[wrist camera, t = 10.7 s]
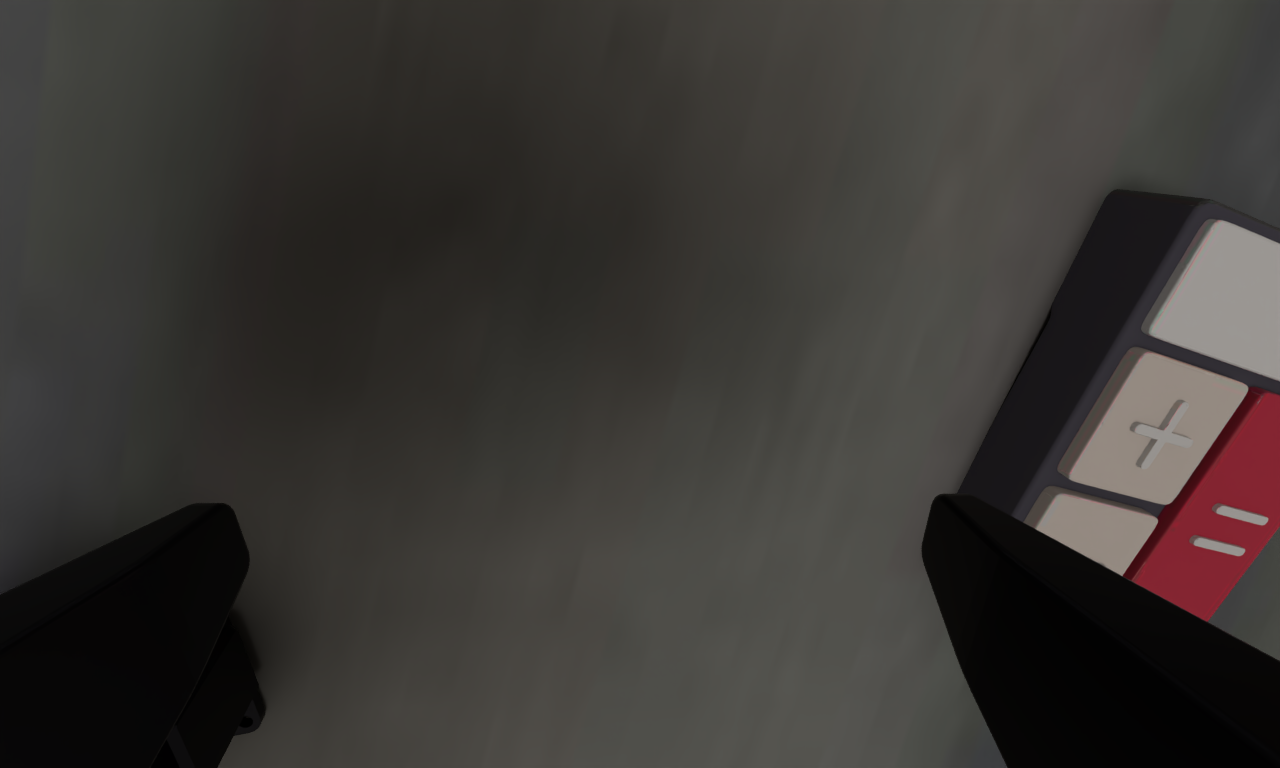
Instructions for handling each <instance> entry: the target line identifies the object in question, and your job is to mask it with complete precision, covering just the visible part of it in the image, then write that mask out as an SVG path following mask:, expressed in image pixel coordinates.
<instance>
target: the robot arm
mask: <svg viewBox="0 0 1280 768" xmlns="http://www.w3.org/2000/svg"><path fill="white" fill-rule="evenodd" d="M922 558H923V563H924V566H925V569H926V572H927V575H928V577H929V580H930V583H931V586H932V589H933V592H934V594H935V597H936V600H937V603H938V606H939V609H940V611H941V614H942V617H943V620H944V623H945V626H946V628H947V631H948V634H949V637H950V640H951V643H952V645H953V648H954V651H955V654H956V656H957V659H958V662H959V664H960V667H961V669H962V672H963V674H964V677H965V679H966V681H967V683H968V685H969V688H970V690H971V692H972V694H973V696H974V698H975V700H976V703H977V705H978V707H979V709H980V711H981V713H982V715H983V717H984V719H985V721H986V724H987V726H988V728H989V730H990V732H991V734H992V736H993V738H994V740H995V742H996V744H997V747H998V749H999V751H1000V753H1001V755H1002V757H1003V759H1004V761H1005V763H1006V765H1007V768H1280V661H1279V660H1277V659H1275V658H1273V657H1272V656H1270V655H1268V654H1266V653H1264V652H1262V651H1260V650H1259V649H1257V648H1255V647H1253V646H1251V645H1249V644H1247V643H1246V642H1244V641H1242V640H1240V639H1238V638H1236V637H1234V636H1233V635H1231V634H1229V633H1227V632H1225V631H1223V630H1222V629H1220V628H1218V627H1216V626H1214V625H1212V624H1210V623H1209V622H1207V621H1205V620H1203V619H1201V618H1199V617H1197V616H1196V615H1194V614H1192V613H1190V612H1188V611H1186V610H1184V609H1183V608H1181V607H1179V606H1177V605H1175V604H1173V603H1172V602H1170V601H1168V600H1166V599H1164V598H1162V597H1160V596H1159V595H1157V594H1155V593H1153V592H1151V591H1149V590H1147V589H1146V588H1144V587H1142V586H1140V585H1138V584H1136V583H1134V582H1133V581H1131V580H1129V579H1127V578H1125V577H1123V576H1122V575H1120V574H1118V573H1116V572H1114V571H1112V570H1110V569H1109V568H1107V567H1105V566H1103V565H1101V564H1099V563H1097V562H1096V561H1094V560H1092V559H1090V558H1088V557H1086V556H1084V555H1083V554H1081V553H1079V552H1077V551H1075V550H1073V549H1072V548H1070V547H1068V546H1066V545H1064V544H1062V543H1060V542H1059V541H1057V540H1055V539H1053V538H1051V537H1049V536H1047V535H1046V534H1044V533H1042V532H1040V531H1038V530H1036V529H1035V528H1033V527H1031V526H1029V525H1027V524H1025V523H1023V522H1022V521H1020V520H1018V519H1016V518H1014V517H1012V516H1011V515H1009V514H1007V513H1005V512H1003V511H1001V510H999V509H998V508H996V507H994V506H992V505H990V504H988V503H986V502H985V501H983V500H981V499H979V498H977V497H975V496H973V495H971V494H940V495H938V496H936V497H935V499H934V500H933V502H932V505H931V509H930V513H929V517H928V521H927V525H926V529H925V533H924V538H923V542H922ZM249 562H250V558H249V551H248V548H247V545H246V543H245V540H244V537H243V534H242V531H241V529H240V526H239V523H238V520H237V517H236V515H235V512H234V510H233V509H232V508H231V507H230V506H229V505H227V504H224V503H196V504H191V505H188V506H186V507H184V508H182V509H180V510H178V511H175V512H173V513H171V514H169V515H167V516H165V517H163V518H161V519H159V520H157V521H154V522H152V523H150V524H148V525H146V526H144V527H142V528H140V529H138V530H135V531H133V532H131V533H129V534H127V535H125V536H123V537H121V538H119V539H117V540H114V541H112V542H110V543H108V544H106V545H104V546H102V547H100V548H98V549H95V550H93V551H91V552H89V553H87V554H85V555H83V556H81V557H79V558H77V559H74V560H72V561H70V562H68V563H66V564H64V565H62V566H60V567H58V568H55V569H53V570H51V571H49V572H47V573H45V574H43V575H41V576H39V577H37V578H34V579H32V580H30V581H28V582H26V583H24V584H22V585H20V586H18V587H15V588H13V589H11V590H9V591H7V592H5V593H3V594H1V595H0V768H217V767H218V765H219V763H220V761H221V759H222V757H223V756H224V754H225V752H226V750H227V748H228V746H229V744H230V742H231V740H232V738H233V736H235V735H240V734H245V733H250V732H253V731H255V730H256V729H258V728H259V726H260V724H261V722H262V720H263V718H264V716H265V709H264V706H263V704H262V701H261V699H260V696H259V694H258V691H257V689H258V682H257V679H256V677H255V674H254V672H253V669H252V667H251V664H250V661H249V659H248V656H247V654H246V651H245V648H244V646H243V643H242V641H241V638H240V635H239V633H238V631H237V630H236V629H235V628H234V627H233V626H232V624H231V622H230V619H229V616H228V615H229V613H230V611H231V608H232V606H233V604H234V602H235V599H236V597H237V595H238V593H239V590H240V588H241V586H242V584H243V581H244V579H245V577H246V575H247V572H248V568H249ZM244 716H248V717H250V718H246V717H244Z"/></svg>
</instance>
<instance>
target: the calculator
mask: <svg viewBox="0 0 1280 768" xmlns="http://www.w3.org/2000/svg"><path fill="white" fill-rule="evenodd" d="M957 494H971V495H973V496H975V497H977V498H979V499H981V500H983V501H985V502H986V503H988V504H990V505H992V506H994V507H996V508H998V509H999V510H1001V511H1003V512H1005V513H1007V514H1009V515H1011V516H1012V517H1014V518H1016V519H1018V520H1020V521H1022V522H1023V523H1025V524H1027V525H1029V526H1031V527H1033V528H1035V529H1036V530H1038V531H1040V532H1042V533H1044V534H1046V535H1047V536H1049V537H1051V538H1053V539H1055V540H1057V541H1059V542H1060V543H1062V544H1064V545H1066V546H1068V547H1070V548H1072V549H1073V550H1075V551H1077V552H1079V553H1081V554H1083V555H1084V556H1086V557H1088V558H1090V559H1092V560H1094V561H1096V562H1097V563H1099V564H1101V565H1103V566H1105V567H1107V568H1109V569H1110V570H1112V571H1114V572H1116V573H1118V574H1120V575H1122V576H1123V577H1125V578H1127V579H1129V580H1131V581H1133V582H1134V583H1136V584H1138V585H1140V586H1142V587H1144V588H1146V589H1147V590H1149V591H1151V592H1153V593H1155V594H1157V595H1159V596H1160V597H1162V598H1164V599H1166V600H1168V601H1170V602H1172V603H1173V604H1175V605H1177V606H1179V607H1181V608H1183V609H1184V610H1186V611H1188V612H1190V613H1192V614H1194V615H1196V616H1197V617H1199V618H1201V619H1203V620H1205V621H1207V622H1208V620H1209V619H1210V618H1211V616H1212V615H1213V614H1214V612H1215V611H1216V610H1217V608H1218V607H1219V606H1220V604H1221V603H1222V602H1223V601H1224V599H1225V598H1226V597H1227V595H1228V594H1229V593H1230V591H1231V590H1232V589H1233V587H1234V586H1235V585H1236V583H1237V582H1238V581H1239V579H1240V578H1241V577H1242V575H1243V574H1244V573H1245V572H1246V570H1247V569H1248V568H1249V566H1250V565H1251V564H1252V562H1253V561H1254V560H1255V558H1256V557H1257V556H1258V554H1259V553H1260V552H1261V550H1262V549H1263V548H1264V546H1265V545H1266V544H1267V543H1268V541H1269V540H1270V539H1271V537H1272V536H1273V535H1274V533H1275V532H1276V531H1277V529H1278V528H1279V527H1280V229H1279V228H1276V227H1274V226H1272V225H1269V224H1267V223H1265V222H1262V221H1260V220H1258V219H1256V218H1253V217H1251V216H1249V215H1246V214H1244V213H1242V212H1239V211H1237V210H1235V209H1233V208H1230V207H1228V206H1226V205H1223V204H1221V203H1219V202H1216V201H1213V200H1210V199H1202V198H1194V197H1185V196H1176V195H1166V194H1157V193H1148V192H1138V191H1129V190H1114V191H1112V192H1111V193H1110V194H1109V195H1108V196H1107V197H1106V199H1105V200H1104V202H1103V204H1102V206H1101V208H1100V210H1099V212H1098V214H1097V216H1096V218H1095V220H1094V222H1093V224H1092V226H1091V228H1090V230H1089V232H1088V234H1087V236H1086V238H1085V240H1084V242H1083V244H1082V246H1081V248H1080V250H1079V252H1078V254H1077V256H1076V258H1075V260H1074V262H1073V264H1072V266H1071V268H1070V270H1069V272H1068V274H1067V276H1066V278H1065V280H1064V282H1063V284H1062V285H1061V287H1060V289H1059V291H1058V293H1057V295H1056V297H1055V300H1054V302H1053V304H1052V307H1051V317H1050V319H1049V321H1048V323H1047V325H1046V327H1045V329H1044V331H1043V332H1042V334H1041V336H1040V338H1039V340H1038V341H1037V343H1036V345H1035V347H1034V349H1033V351H1032V352H1031V354H1030V356H1029V358H1028V360H1027V361H1026V363H1025V365H1024V367H1023V369H1022V370H1021V372H1020V374H1019V376H1018V378H1017V379H1016V381H1015V383H1014V385H1013V387H1012V389H1011V390H1010V392H1009V394H1008V396H1007V398H1006V399H1005V401H1004V403H1003V405H1002V407H1001V409H1000V410H999V412H998V414H997V416H996V418H995V420H994V422H993V424H992V426H991V427H990V429H989V431H988V433H987V435H986V437H985V439H984V441H983V443H982V445H981V447H980V449H979V451H978V453H977V455H976V457H975V459H974V461H973V463H972V465H971V467H970V469H969V471H968V473H967V475H966V477H965V479H964V481H963V483H962V485H961V487H960V489H959V491H958V493H957Z"/></svg>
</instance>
